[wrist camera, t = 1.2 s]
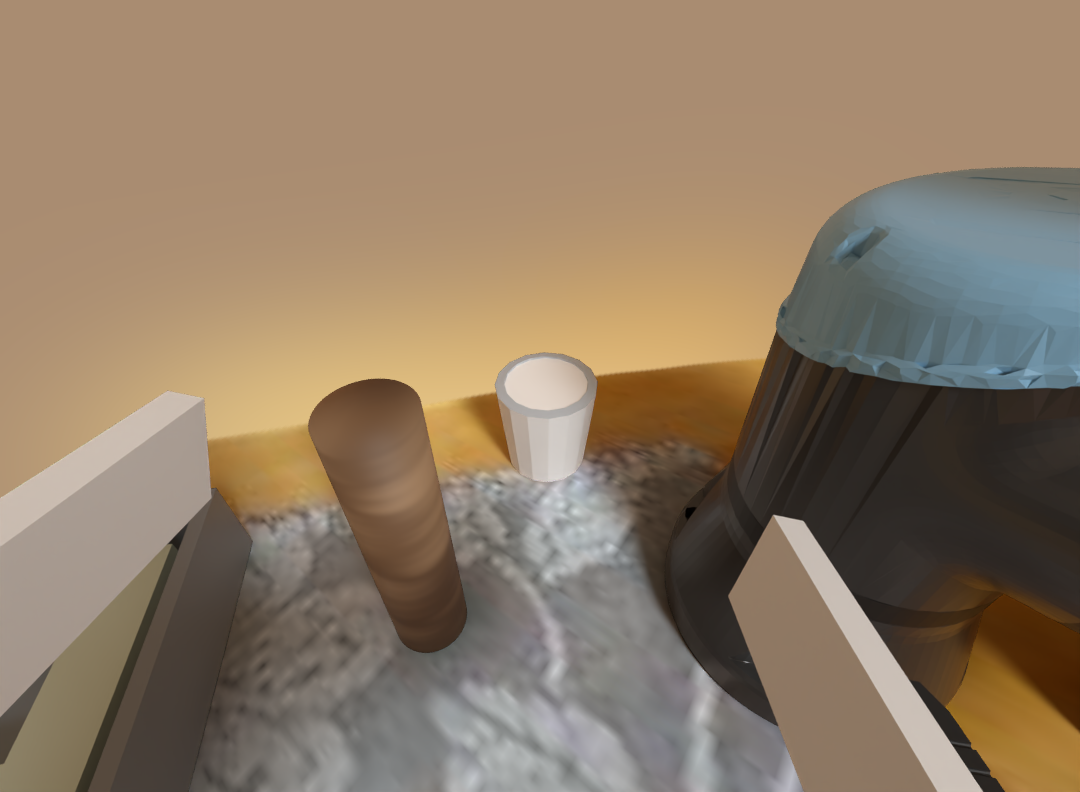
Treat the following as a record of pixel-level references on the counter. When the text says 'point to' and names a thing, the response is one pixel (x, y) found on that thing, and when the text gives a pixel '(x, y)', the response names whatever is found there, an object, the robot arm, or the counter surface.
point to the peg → (393, 505)
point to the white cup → (546, 413)
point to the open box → (135, 675)
